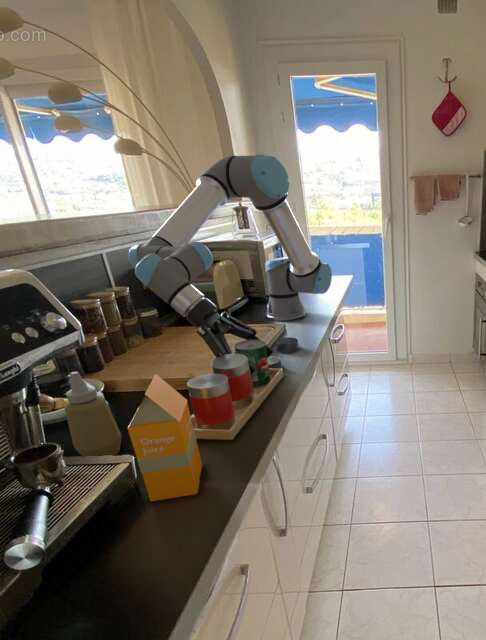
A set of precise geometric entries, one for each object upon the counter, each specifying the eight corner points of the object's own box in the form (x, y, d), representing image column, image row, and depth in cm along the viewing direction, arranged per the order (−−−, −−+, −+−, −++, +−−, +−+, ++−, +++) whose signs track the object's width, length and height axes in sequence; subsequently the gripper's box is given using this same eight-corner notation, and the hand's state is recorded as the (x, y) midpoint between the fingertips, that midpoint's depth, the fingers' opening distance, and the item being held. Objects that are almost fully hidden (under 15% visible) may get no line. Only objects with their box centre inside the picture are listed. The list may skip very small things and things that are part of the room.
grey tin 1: (262, 365, 134) (260, 355, 133) (284, 365, 134) (283, 356, 133) (253, 374, 128) (252, 364, 127) (277, 374, 128) (276, 365, 126)
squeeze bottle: (69, 463, 87) (35, 379, 79) (103, 442, 94) (75, 363, 86) (103, 469, 85) (72, 383, 78) (135, 447, 93) (110, 366, 85)
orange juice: (149, 501, 77) (116, 397, 68) (159, 473, 84) (130, 375, 76) (198, 493, 79) (172, 391, 70) (203, 466, 86) (181, 370, 78)
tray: (243, 375, 127) (242, 367, 126) (283, 376, 126) (282, 368, 125) (179, 439, 95) (176, 429, 94) (232, 441, 95) (230, 431, 94)
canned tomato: (238, 380, 123) (231, 342, 118) (267, 375, 126) (262, 337, 121) (243, 390, 117) (236, 351, 112) (273, 385, 120) (268, 346, 115)
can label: (229, 391, 114) (220, 352, 108) (260, 392, 114) (252, 354, 108) (215, 408, 107) (205, 368, 101) (248, 410, 107) (239, 369, 101)
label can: (207, 416, 104) (198, 372, 99) (241, 417, 103) (233, 373, 98) (190, 434, 96) (179, 388, 92) (227, 435, 96) (217, 389, 91)
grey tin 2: (281, 345, 150) (279, 337, 149) (301, 346, 150) (300, 337, 149) (274, 352, 144) (273, 343, 143) (295, 353, 144) (294, 344, 142)
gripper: (209, 305, 126) (269, 356, 131) (160, 332, 103) (234, 392, 109) (224, 286, 123) (284, 339, 129) (177, 310, 101) (252, 373, 106)
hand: (261, 364), depth 119 cm, fingers open, 13 cm apart
